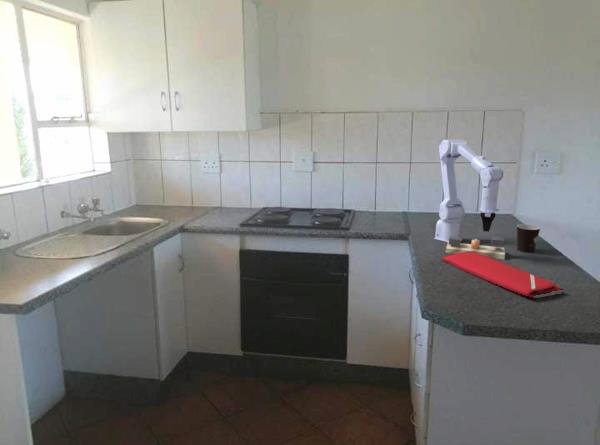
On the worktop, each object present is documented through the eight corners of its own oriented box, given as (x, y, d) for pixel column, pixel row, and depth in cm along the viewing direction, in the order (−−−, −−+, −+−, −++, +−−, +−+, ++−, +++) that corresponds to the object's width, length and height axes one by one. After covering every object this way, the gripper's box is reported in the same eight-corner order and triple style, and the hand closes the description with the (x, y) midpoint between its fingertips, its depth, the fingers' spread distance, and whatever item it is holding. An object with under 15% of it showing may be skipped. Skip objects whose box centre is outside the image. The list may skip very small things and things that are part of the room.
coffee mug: (524, 254, 188) (527, 230, 186) (509, 248, 197) (512, 225, 194) (548, 252, 192) (551, 228, 189) (532, 246, 200) (535, 223, 197)
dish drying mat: (473, 257, 186) (474, 248, 185) (564, 295, 149) (566, 284, 148) (441, 262, 180) (442, 252, 179) (526, 302, 143) (528, 291, 142)
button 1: (448, 244, 191) (449, 238, 190) (449, 241, 195) (450, 236, 194) (460, 245, 189) (460, 239, 189) (460, 242, 193) (461, 237, 193)
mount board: (445, 252, 189) (446, 246, 189) (447, 246, 199) (448, 240, 198) (504, 259, 182) (505, 253, 181) (503, 252, 191) (504, 246, 190)
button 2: (491, 245, 185) (491, 239, 184) (491, 242, 189) (491, 236, 188) (503, 246, 183) (503, 240, 183) (502, 243, 187) (503, 237, 187)
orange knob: (470, 248, 189) (471, 240, 188) (471, 246, 192) (471, 238, 191) (479, 249, 188) (480, 241, 187) (479, 247, 190) (480, 239, 190)
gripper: (500, 201, 175) (497, 236, 178) (500, 195, 188) (497, 227, 191) (480, 200, 178) (477, 234, 181) (481, 193, 191) (478, 226, 194)
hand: (486, 231), depth 186 cm, fingers closed
